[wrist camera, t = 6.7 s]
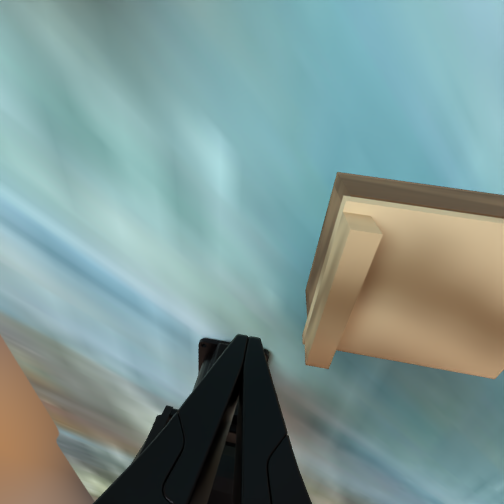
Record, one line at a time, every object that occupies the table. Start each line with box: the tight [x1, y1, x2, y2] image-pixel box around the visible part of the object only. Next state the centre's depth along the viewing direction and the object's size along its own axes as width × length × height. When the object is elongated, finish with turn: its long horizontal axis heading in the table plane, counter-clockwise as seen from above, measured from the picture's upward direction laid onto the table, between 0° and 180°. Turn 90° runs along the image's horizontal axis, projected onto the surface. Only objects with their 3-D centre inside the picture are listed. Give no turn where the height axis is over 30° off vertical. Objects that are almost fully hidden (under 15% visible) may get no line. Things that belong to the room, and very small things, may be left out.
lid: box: [302, 196, 504, 379], centre depth 13 cm, size 9×11×2 cm
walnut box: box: [306, 172, 504, 318], centre depth 16 cm, size 9×11×4 cm
